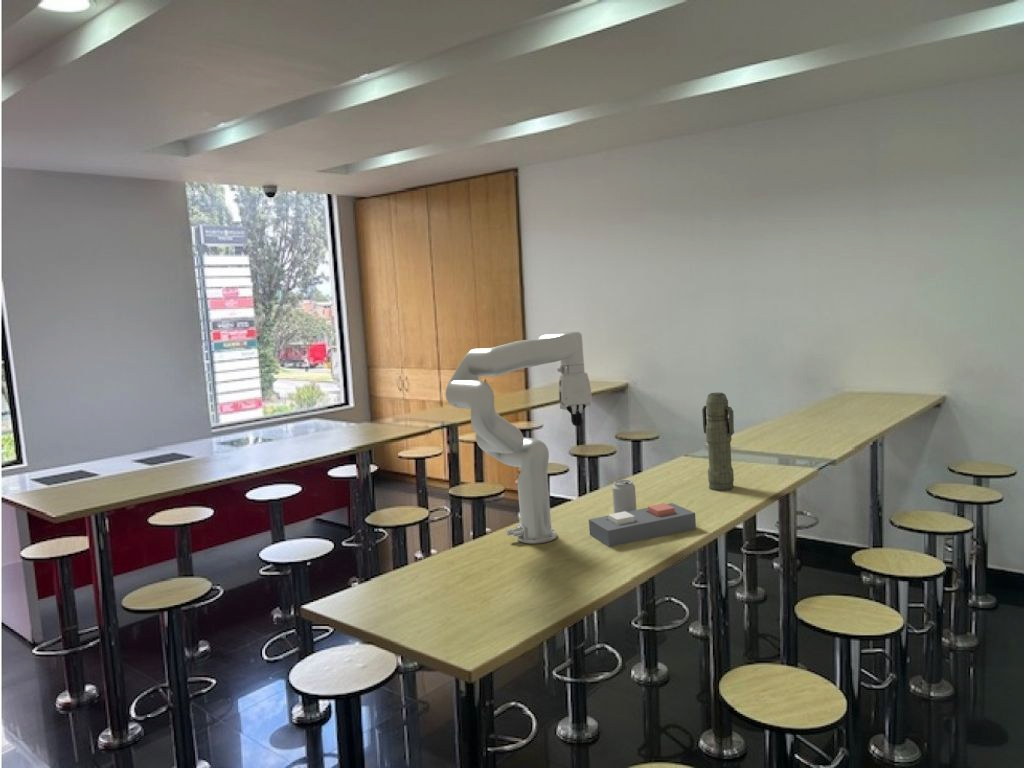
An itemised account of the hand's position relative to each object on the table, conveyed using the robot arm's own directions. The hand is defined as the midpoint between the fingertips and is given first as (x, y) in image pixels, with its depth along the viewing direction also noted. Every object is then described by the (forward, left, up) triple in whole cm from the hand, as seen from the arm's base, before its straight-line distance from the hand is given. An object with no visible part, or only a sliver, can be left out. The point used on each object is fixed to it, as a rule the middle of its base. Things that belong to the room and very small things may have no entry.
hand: (576, 425), depth 236 cm
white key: (+3, -21, -30) cm, 37 cm away
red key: (+17, -21, -29) cm, 40 cm away
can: (+13, -5, -32) cm, 35 cm away
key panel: (+10, -21, -32) cm, 40 cm away
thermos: (+58, +5, -32) cm, 67 cm away
